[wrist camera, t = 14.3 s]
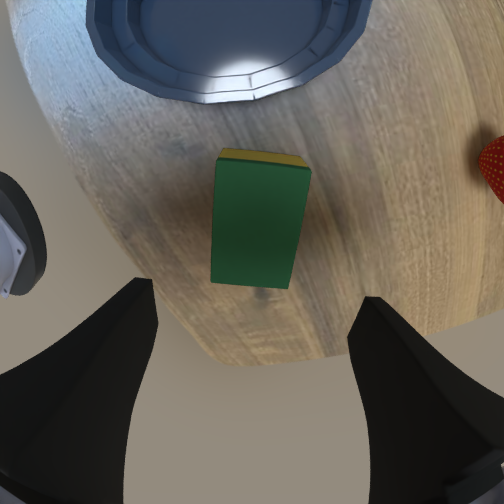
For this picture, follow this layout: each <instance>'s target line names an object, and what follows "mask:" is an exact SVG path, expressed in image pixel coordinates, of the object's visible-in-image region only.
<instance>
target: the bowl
mask: <svg viewBox="0 0 504 504" xmlns="http://www.w3.org/2000/svg"><path fill="white" fill-rule="evenodd" d="M372 1H373V0H87V6H86V28H87V31H88V33H89V36H90V39H91V41H92V44H93V47H94V49H95V52H96V54H97V56H98V57H99V58H100V59H101V60H102V61H103V62H104V63H105V64H106V65H107V66H108V67H109V68H110V69H111V70H112V71H113V72H114V73H115V74H116V75H117V76H118V77H119V78H120V79H121V80H122V81H124V82H127V83H129V84H131V85H133V86H135V87H137V88H140V89H142V90H144V91H146V92H148V93H150V94H152V95H154V96H156V97H159V98H166V99H174V100H180V101H186V102H192V103H198V104H224V103H236V102H253V101H257V100H260V99H263V98H266V97H269V96H272V95H275V94H278V93H281V92H284V91H288V90H291V89H294V88H297V87H300V86H302V85H304V84H306V83H307V82H309V81H310V80H312V79H313V78H315V77H316V76H318V75H319V74H321V73H323V72H324V71H326V70H327V69H329V68H331V67H332V66H334V65H336V64H337V63H339V61H341V60H342V59H343V57H344V56H345V55H346V54H347V52H348V51H349V50H350V49H351V47H352V46H353V45H354V44H355V42H356V41H357V40H358V39H359V38H360V36H361V35H362V34H363V32H364V30H365V27H366V23H367V19H368V16H369V12H370V8H371V5H372Z"/></svg>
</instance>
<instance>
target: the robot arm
mask: <svg viewBox="0 0 504 504" xmlns="http://www.w3.org/2000/svg"><path fill="white" fill-rule="evenodd" d="M26 250H27V247H26V244H25V243H24V242H23V241H22V240H21V238H20V237H19V236H18V235H17V234H16V233H15V231H14V230H13V229H12V228H11V226H10V225H9V224H8V223H7V222H6V220H5V219H4V218H3V216H2V215H1V214H0V294H1V295H2V296H3V297H4V298H8V296H9V294H10V291H11V288H12V285H13V282H14V280H15V277H16V274H17V272H18V269H19V267H20V264H21V262H22V260H23V257H24V255H25V253H26ZM157 328H158V317H157V312H156V305H155V298H154V290H153V283H152V279H145V278H136V277H135V278H134V279H133V280H131V281H130V282H129V283H128V284H127V285H125V286H124V287H123V288H122V289H121V290H120V291H118V292H117V293H116V294H115V295H114V296H113V297H112V298H110V299H109V300H108V301H107V302H106V303H105V304H104V305H102V306H101V307H100V308H99V309H98V310H97V311H95V312H94V313H93V314H92V315H91V316H89V317H88V318H87V319H86V320H84V321H83V322H82V323H81V324H79V325H78V326H77V327H76V328H74V329H73V330H72V331H71V332H69V333H68V334H67V335H66V336H64V337H63V338H61V339H60V340H59V341H57V342H56V343H54V344H53V345H51V346H50V347H48V348H47V349H45V350H44V351H42V352H41V353H39V354H37V355H36V356H34V357H32V358H31V359H29V360H27V361H25V362H24V363H22V364H20V365H19V366H17V367H15V368H13V369H11V370H9V371H7V372H5V373H3V374H1V375H0V504H123V480H124V465H125V454H126V446H127V439H128V432H129V426H130V421H131V415H132V411H133V407H134V403H135V399H136V397H137V394H138V391H139V388H140V385H141V382H142V379H143V375H144V373H145V370H146V367H147V364H148V361H149V358H150V356H151V353H152V349H153V346H154V342H155V337H156V332H157ZM347 339H348V346H349V353H350V359H351V363H352V367H353V371H354V374H355V378H356V381H357V385H358V388H359V392H360V396H361V399H362V403H363V407H364V411H365V415H366V420H367V427H368V436H369V445H370V469H371V470H370V493H369V503H368V504H504V466H503V467H501V464H502V463H503V462H504V398H503V397H501V396H499V395H498V394H496V393H494V392H492V391H491V390H489V389H487V388H486V387H484V386H482V385H481V384H479V383H478V382H476V381H475V380H473V379H472V378H471V377H469V376H468V375H466V374H465V373H464V372H462V371H461V370H460V369H458V368H457V367H456V366H455V365H454V364H452V363H451V362H450V361H449V360H447V359H446V358H445V357H444V356H443V355H442V354H440V353H439V352H438V351H437V350H436V349H435V348H434V347H433V346H432V345H431V344H429V343H428V342H427V341H426V340H425V339H424V338H423V337H422V336H421V335H420V334H419V333H418V332H417V331H416V330H415V329H414V328H413V327H412V326H411V325H410V324H409V323H408V322H407V321H406V320H405V319H404V318H403V317H402V316H401V315H400V314H398V313H397V312H396V311H395V310H394V309H393V308H392V307H391V306H390V305H389V304H388V303H387V302H385V301H384V300H383V299H382V298H381V297H367V296H365V298H364V301H363V303H362V305H361V308H360V310H359V312H358V314H357V317H356V319H355V321H354V323H353V325H352V328H351V330H350V332H349V334H348V336H347Z"/></svg>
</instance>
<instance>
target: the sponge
mask: <svg viewBox="0 0 504 504" xmlns="http://www.w3.org/2000/svg"><path fill="white" fill-rule="evenodd" d="M311 173H312V171H311V169H310V168H309V167H308V166H307V164H306V163H305V162H304V161H303V160H302V158H301V157H300V156H293V155H286V154H278V153H270V152H261V151H251V150H241V149H229V148H224V149H223V150H222V152H221V153H220V155H219V157H218V159H217V160H216V169H215V185H214V202H213V222H212V246H211V279H210V281H211V283H221V284H232V285H243V286H255V287H267V288H280V289H288V287H289V282H290V278H291V273H292V269H293V264H294V259H295V255H296V250H297V245H298V241H299V236H300V231H301V226H302V221H303V216H304V211H305V205H306V200H307V195H308V189H309V184H310V179H311Z"/></svg>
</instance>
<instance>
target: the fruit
mask: <svg viewBox="0 0 504 504" xmlns="http://www.w3.org/2000/svg"><path fill="white" fill-rule="evenodd" d="M478 164H479V168H480V171H481V173H482V175H483V177H484V178H485V180H486V181H487V183H488V184H489V186H490V187H491V189H492V190H493V192H494V193H495V195H496V196H497V197H498V199H499V200H500V201H501V202H502V203H503V204H504V135H503V136H501V137H499V138H497V139H495V140H493V141H492V142H491V143H489V144H488V145H487V146H486V147H485V148H484V149H483V150H482V152H481V154H480V156H479V159H478Z"/></svg>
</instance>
